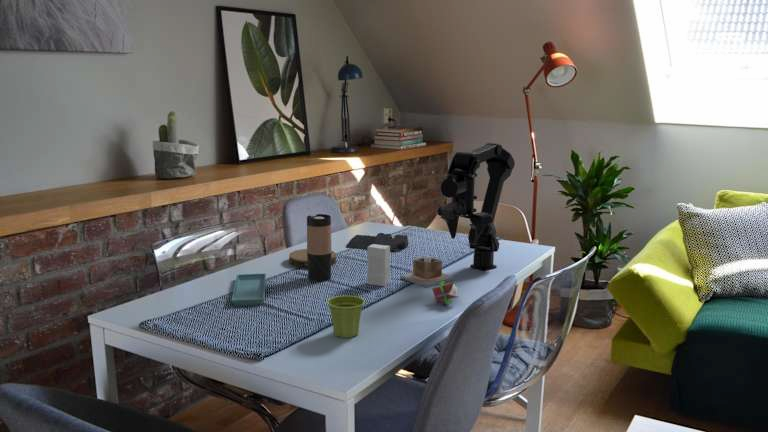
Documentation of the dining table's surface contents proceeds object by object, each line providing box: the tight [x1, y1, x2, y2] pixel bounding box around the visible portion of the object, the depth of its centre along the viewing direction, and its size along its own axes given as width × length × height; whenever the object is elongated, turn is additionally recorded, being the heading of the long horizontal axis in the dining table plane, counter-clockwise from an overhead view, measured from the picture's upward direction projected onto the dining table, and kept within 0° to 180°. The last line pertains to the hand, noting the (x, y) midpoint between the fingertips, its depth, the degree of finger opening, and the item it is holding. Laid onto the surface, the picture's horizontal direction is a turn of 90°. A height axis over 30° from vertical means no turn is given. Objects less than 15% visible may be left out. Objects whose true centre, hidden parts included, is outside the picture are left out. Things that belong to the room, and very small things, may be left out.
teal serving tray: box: [230, 273, 267, 307], centre depth 214 cm, size 26×9×2 cm, turn 8°
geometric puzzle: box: [432, 279, 459, 306], centre depth 205 cm, size 7×7×8 cm
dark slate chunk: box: [346, 232, 409, 253], centre depth 268 cm, size 15×22×5 cm
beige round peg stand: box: [400, 255, 455, 288], centre depth 227 cm, size 12×12×7 cm
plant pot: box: [326, 295, 366, 339], centre depth 181 cm, size 9×9×9 cm
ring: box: [412, 256, 443, 280], centre depth 227 cm, size 6×6×5 cm
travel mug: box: [306, 213, 333, 283], centre depth 226 cm, size 8×8×20 cm
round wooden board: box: [288, 248, 337, 269], centre depth 246 cm, size 16×16×3 cm
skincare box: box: [366, 244, 391, 287], centre depth 222 cm, size 6×4×12 cm
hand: (463, 241), depth 227 cm, fingers open, 9 cm apart
